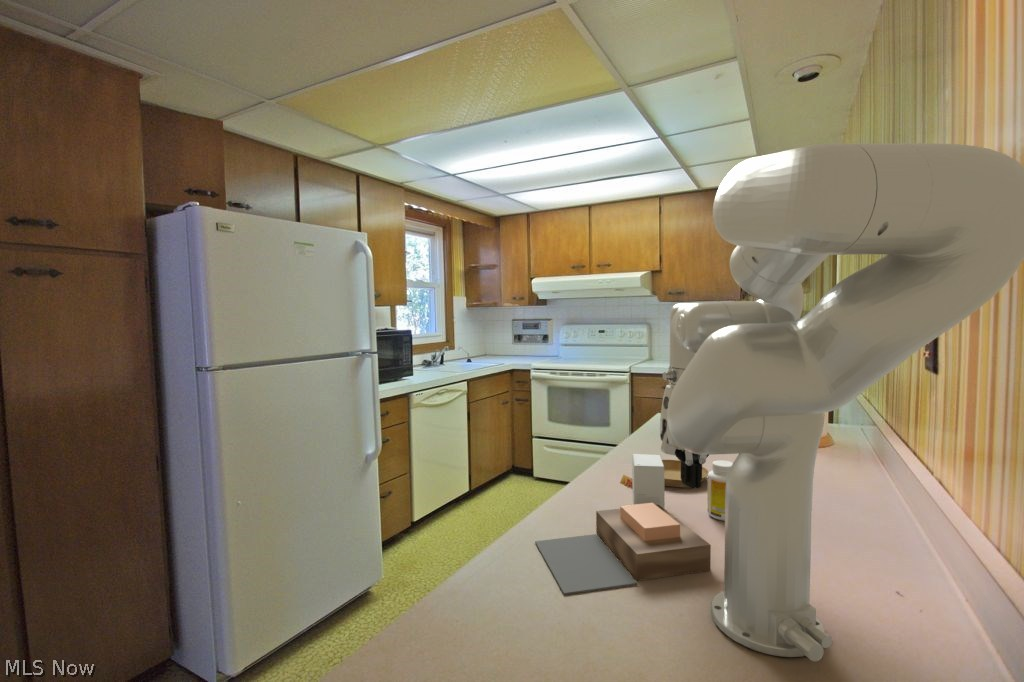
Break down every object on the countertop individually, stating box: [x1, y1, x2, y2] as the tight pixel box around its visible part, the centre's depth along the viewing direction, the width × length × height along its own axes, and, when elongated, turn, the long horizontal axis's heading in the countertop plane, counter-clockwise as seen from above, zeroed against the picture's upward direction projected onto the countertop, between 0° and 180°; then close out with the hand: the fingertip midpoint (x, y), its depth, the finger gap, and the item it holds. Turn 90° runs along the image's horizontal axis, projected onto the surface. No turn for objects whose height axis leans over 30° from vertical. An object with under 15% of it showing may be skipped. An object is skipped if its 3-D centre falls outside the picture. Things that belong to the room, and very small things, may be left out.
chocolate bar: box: [619, 474, 633, 490], centre depth 109 cm, size 3×12×2 cm, turn 25°
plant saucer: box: [662, 459, 710, 488], centre depth 116 cm, size 15×15×3 cm
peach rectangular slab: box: [619, 503, 680, 541], centre depth 82 cm, size 9×6×2 cm, turn 12°
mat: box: [535, 533, 638, 596], centre depth 78 cm, size 16×11×1 cm
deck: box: [595, 505, 712, 582], centre depth 82 cm, size 16×12×4 cm
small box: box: [631, 453, 666, 510], centre depth 97 cm, size 8×6×10 cm
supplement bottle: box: [707, 459, 734, 522], centre depth 94 cm, size 6×6×10 cm
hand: (691, 485), depth 84 cm, fingers closed
